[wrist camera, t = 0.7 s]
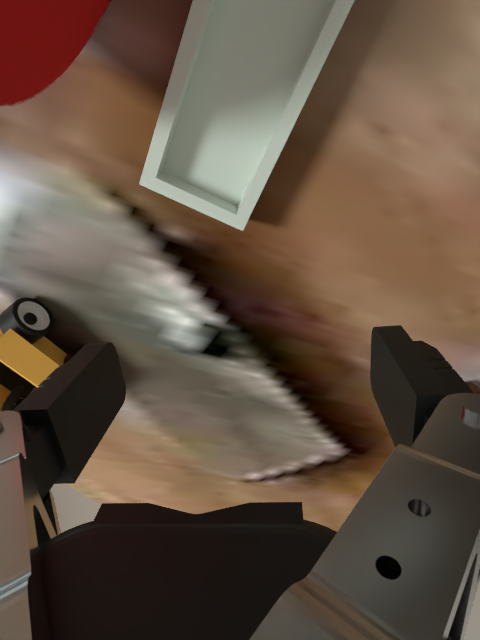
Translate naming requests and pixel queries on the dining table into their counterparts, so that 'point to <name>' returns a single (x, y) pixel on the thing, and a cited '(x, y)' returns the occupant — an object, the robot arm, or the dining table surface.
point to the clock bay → (237, 99)
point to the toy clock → (41, 42)
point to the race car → (26, 351)
